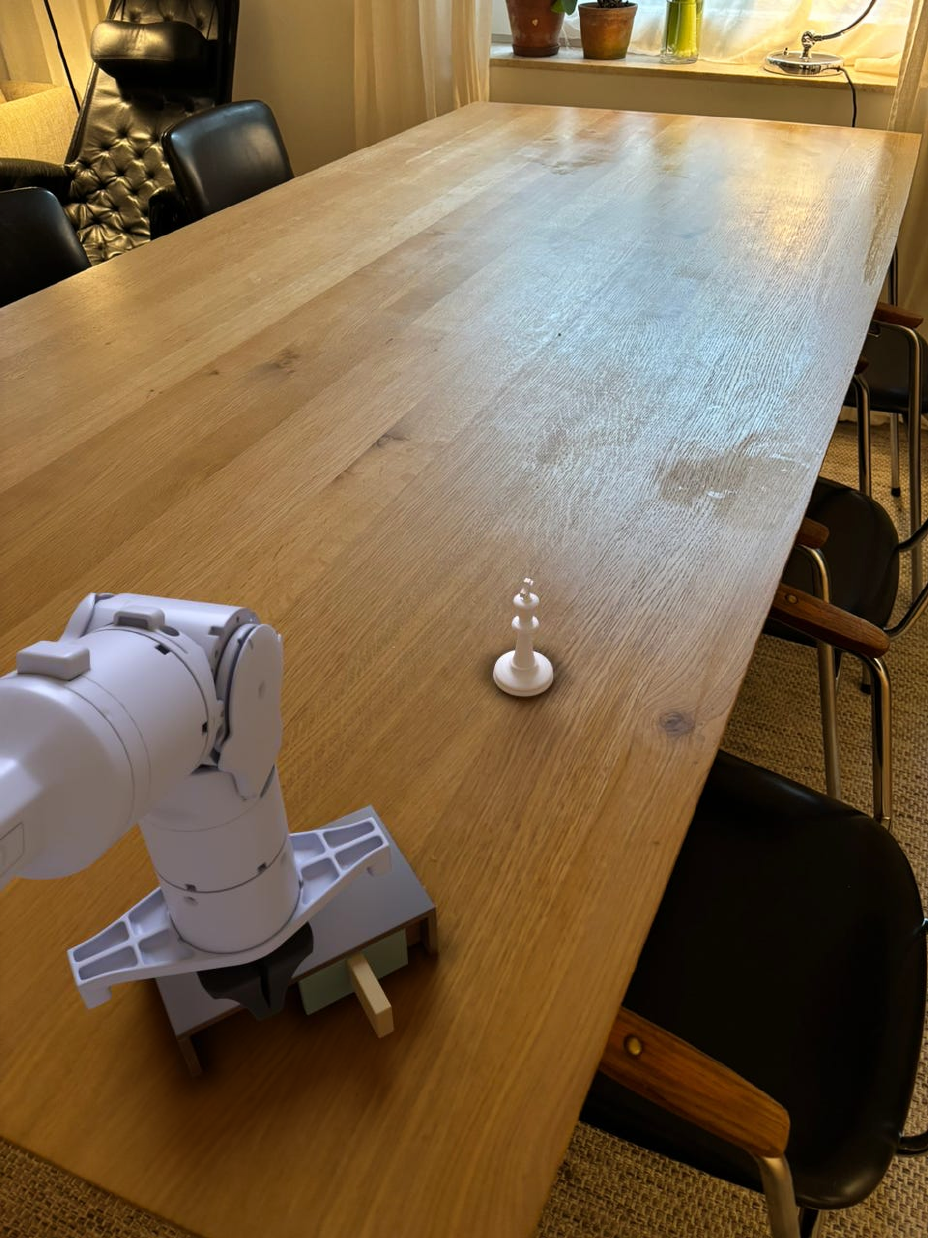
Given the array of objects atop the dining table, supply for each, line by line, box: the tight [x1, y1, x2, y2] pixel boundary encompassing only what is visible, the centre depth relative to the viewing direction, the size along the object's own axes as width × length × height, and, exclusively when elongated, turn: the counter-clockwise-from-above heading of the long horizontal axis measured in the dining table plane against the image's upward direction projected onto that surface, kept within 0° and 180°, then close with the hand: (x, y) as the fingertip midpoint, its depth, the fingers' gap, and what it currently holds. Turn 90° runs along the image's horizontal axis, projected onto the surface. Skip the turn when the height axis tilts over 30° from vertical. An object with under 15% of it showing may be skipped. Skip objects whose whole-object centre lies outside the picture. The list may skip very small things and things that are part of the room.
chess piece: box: [492, 577, 554, 697], centre depth 78 cm, size 5×5×10 cm
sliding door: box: [297, 928, 409, 1039], centre depth 58 cm, size 7×5×4 cm
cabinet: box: [154, 804, 439, 1079], centre depth 61 cm, size 16×9×5 cm, turn 120°
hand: (264, 1000), depth 50 cm, fingers closed
